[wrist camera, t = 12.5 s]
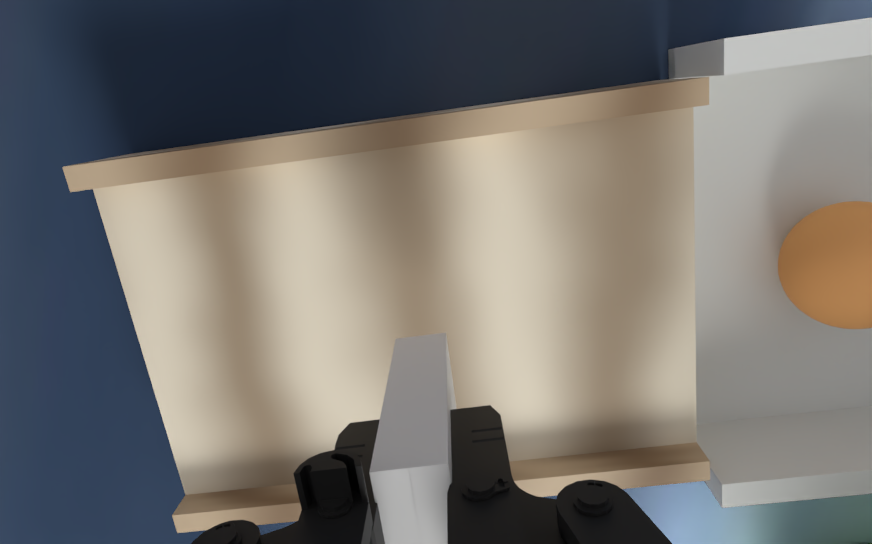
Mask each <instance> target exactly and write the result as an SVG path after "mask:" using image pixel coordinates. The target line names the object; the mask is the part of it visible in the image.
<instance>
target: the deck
mask: <svg viewBox="0 0 872 544" xmlns="http://www.w3.org/2000/svg"><path fill="white" fill-rule="evenodd" d="M705 105H709V77H699V78H683V79H666V80H656V81H649V82H641V83H634V84H627V85H620V86H613V87H606V88H598V89H591V90H584V91H577V92H570V93H563V94H555V95H548V96H541V97H534V98H527V99H520V100H513V101H505V102H498V103H491V104H484V105H477V106H470V107H462V108H455V109H448V110H441V111H434V112H427V113H419V114H412V115H405V116H398V117H391V118H384V119H376V120H369V121H362V122H355V123H348V124H341V125H334V126H326V127H319V128H312V129H305V130H298V131H291V132H283V133H276V134H269V135H262V136H255V137H248V138H240V139H233V140H226V141H219V142H212V143H205V144H197V145H190V146H183V147H176V148H169V149H162V150H155V151H147V152H140V153H133V154H127V155H122V156H117V157H112V158H107V159H101V160H96V161H91V162H86V163H81V164H75V165H70V166H65V167H63V171H64V174H65V177H66V180H67V183H68V186H69V190H70V192H75V191H82V190H89V189H93V191H94V194H95V198H96V201H97V204H98V208H99V211H100V214H101V218H102V221H103V224H104V227H105V231H106V234H107V237H108V241H109V244H110V247H111V251H112V254H113V257H114V260H115V264H116V267H117V270H118V274H119V277H120V280H121V284H122V287H123V290H124V293H125V297H126V300H127V303H128V307H129V310H130V313H131V317H132V320H133V323H134V326H135V330H136V333H137V336H138V340H139V343H140V346H141V350H142V353H143V356H144V359H145V363H146V366H147V369H148V373H149V376H150V379H151V383H152V386H153V389H154V393H155V396H156V399H157V402H158V406H159V409H160V412H161V416H162V419H163V422H164V426H165V429H166V432H167V435H168V439H169V442H170V445H171V449H172V452H173V455H174V459H175V462H176V465H177V468H178V472H179V475H180V478H181V482H182V485H183V488H184V492H185V496H184V498H183V500H182V501H181V503H180V504H179V506H178V507H177V509H176V510H175V512H174V513H173V515H172V517H173V520H174V524H175V527H176V530H177V533H182V532H192V531H202V530H209V529H210V528H212V527H214V526H216V525H218V524H221V523H224V522H228V521H232V520H246V521H250V522H253V523H254V524H255V525H263V524H273V523H283V522H293V521H298V520H299V517H300V514H301V511H302V509H301V505H300V500H299V496H298V492H297V487H296V483H295V479H294V474H293V473H294V472H295V470H296V469H297V468H298V466H299V465H300V464H302V463H303V462H304V461H306V460H307V459H308V458H310V457H313V456H315V455H317V454H319V453H323V452H327V451H332V450H335V448H334V447H335V444H336V441H337V438H338V435H339V434H340V433H341V432H342V431H343V430H344V429H345V428H346V427H347V426H348V424H349V423H353V422H362V421H370V420H379V419H380V416H381V411H382V405H383V400H384V395H385V390H386V385H387V380H388V375H389V370H390V365H391V360H392V355H393V350H394V345H395V340H396V339H398V338H406V337H414V336H422V335H430V334H439V333H446V336H447V343H448V351H449V358H450V365H451V372H452V379H453V386H454V394H455V401H456V408H457V409H461V408H470V407H478V406H487V405H491V406H492V407H493V408H494V409H495V410H496V411H497V412H498V413H499V414H500V415H501V420H502V426H503V431H504V436H505V442H506V447H507V452H508V458H509V463H510V468H511V474H512V477H513V480H514V482H515V483H516V485H517V486H518V487H519V488H520V489H522V490H523V491H525V492H527V493H529V494H532V495H534V496H538V497H546V496H556V495H558V493H559V492H560V491H561V490H562V489H563V488H564V487H565V486H567V485H569V484H572V483H574V482H576V481H582V480H590V479H591V480H600V481H606V482H609V483H611V484H614V485H617V486H618V487H620V488H621V489H626V488H636V487H647V486H657V485H667V484H677V483H687V482H697V481H707V480H710V460H709V459H708V458H707V456H706V455H705V453H704V452H703V451H702V449H701V448H700V446H699V445H698V443H697V424H696V322H695V220H694V118H693V107H697V106H705Z"/></svg>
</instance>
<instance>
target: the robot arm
mask: <svg viewBox="0 0 872 544" xmlns="http://www.w3.org/2000/svg"><path fill="white" fill-rule="evenodd" d="M334 448H335V450H332V451H327V452H323V453H319V454H317V455H315V456H313V457H310V458H308V459H307V460H306V461H304V462H303V463H302V464H300V465H299V466H298V468H297V469H296V470H295V472H294V473H293V474H294V479H295V483H296V487H297V492H298V496H299V500H300V505H301V509H302V511H301V514H300V517H299V520H298V521H297V522H295V523H294V524H292V525H289V526H287V527H284V528H282V529H279V530H276V531H273V532H270V533H267V534H264V535H260V531H259V528H258V527H257V526H256V525H255V524H254V523H253V522H250V521H246V520H232V521H228V522H224V523H221V524H218V525H216V526H214V527H212V528H210V529H209V530H207V531H205V532H203V533H202V534H201V535H200V536H199V537H198V538H197V539H195V540H194V541H193V542H192V543H191V544H672V543H671V542H670V541H669V540H668V538H667V537H666V536H665V535H664V534H663V533H662V532H661V531H660V530H659V528H658V527H657V526H656V525H655V524H654V523H653V522H652V521H651V519H650V518H649V517H648V516H647V515H646V514H645V513H644V512H643V511H642V509H641V508H640V507H639V506H638V505H637V504H636V503H635V502H634V500H633V499H632V498H631V497H630V496H629V495H628V494H627V493H626V492H625V491H624V490H622V489H621V488H620V487H618V486H617V485H614V484H611V483H609V482H606V481H600V480H591V479H590V480H582V481H576V482H574V483H572V484H569V485H567V486H565V487H564V488H563V489H562V490H561V491H560V492H559V493H558V496H557V499H549V498H543V497H538V496H534V495H532V494H529V493H527V492H525V491H523V490H522V489H520V488H519V487H518V486H517V485H516V483H515V482H514V480H513V477H512V474H511V468H510V463H509V458H508V452H507V447H506V442H505V436H504V431H503V426H502V420H501V415H500V414H499V413H498V412H497V411H496V410H495V409H494V408H493V407H492V406H491V405H487V406H478V407H470V408H461V409H457V408H456V401H455V394H454V386H453V379H452V372H451V365H450V358H449V351H448V343H447V336H446V333H439V334H430V335H422V336H414V337H406V338H398V339H396V340H395V345H394V350H393V355H392V360H391V365H390V370H389V375H388V380H387V385H386V390H385V395H384V400H383V405H382V411H381V416H380V419H379V420H370V421H362V422H353V423H349V424H348V426H347V427H346V428H345V429H344V430H343V431H342V432H341V433H340V434H339V435H338V438H337V441H336V444H335V447H334Z"/></svg>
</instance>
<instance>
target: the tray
mask: <svg viewBox="0 0 872 544" xmlns="http://www.w3.org/2000/svg"><path fill="white" fill-rule="evenodd" d="M668 58H669V79H683V78H699V77H709V105H705V106H697V107H693V118H694V220H695V322H696V424H697V443H698V445H699V446H700V448H701V449H702V451H703V452H704V453H705V455H706V456H707V458H708V459H709V460H710V480H707V481H705V483H706V484H707V486H708V487H709V489H710V490H711V492H712V493H713V495H714V496H715V498H716V499H717V501H718V503H719V504H720V506H721V507H722V508H728V507H738V506H748V505H759V504H769V503H780V502H790V501H801V500H811V499H821V498H832V497H842V496H853V495H863V494H872V328H866V329H844V328H838V327H833V326H829V325H826V324H824V323H821V322H818V321H816V320H814V319H812V318H810V317H809V316H807V315H806V314H805V313H803V312H802V311H800V310H799V309H798V308H797V307H796V306H795V305H794V304H793V303H792V301H791V300H790V299H789V298H788V297H787V295H786V293H785V291H784V290H783V287H782V285H781V282H780V279H779V274H778V257H779V252H780V249H781V246H782V244H783V242H784V240H785V238H786V236H787V235H788V233H789V232H790V231H791V229H792V228H793V227H794V226H795V225H796V224H797V223H798V222H799V221H801V220H802V219H803V218H804V217H806V216H807V215H809V214H810V213H812V212H814V211H816V210H818V209H820V208H823V207H825V206H829V205H832V204H836V203H841V202H849V201H863V202H872V17H871V18H864V19H857V20H850V21H843V22H836V23H829V24H822V25H815V26H808V27H801V28H794V29H787V30H780V31H773V32H766V33H759V34H752V35H745V36H738V37H731V38H724V39H719V40H714V41H709V42H704V43H699V44H694V45H689V46H684V47H678V48H673V49H668Z"/></svg>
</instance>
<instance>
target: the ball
mask: <svg viewBox="0 0 872 544" xmlns="http://www.w3.org/2000/svg"><path fill="white" fill-rule="evenodd" d="M778 274H779V279H780V282H781V285H782V287H783V290H784V291H785V293H786V295H787V297H788V298H789V299H790V300H791V301H792V303H793V304H794V305H795V306H796V307H797V308H798V309H799V310H800V311H802V312H803V313H805V314H806V315H807V316H809V317H810V318H812V319H814V320H816V321H818V322H821V323H824V324H826V325H829V326H833V327H838V328H844V329H866V328H872V202H863V201H849V202H841V203H836V204H832V205H829V206H825V207H823V208H820V209H818V210H816V211H814V212H812V213H810V214H809V215H807V216H806V217H804V218H803V219H802V220H801V221H799V222H798V223H797V224H796V225H795V226H794V227H793V228H792V229H791V231H790V232H789V233H788V235H787V236H786V238H785V240H784V242H783V244H782V246H781V249H780V252H779V257H778Z"/></svg>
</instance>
